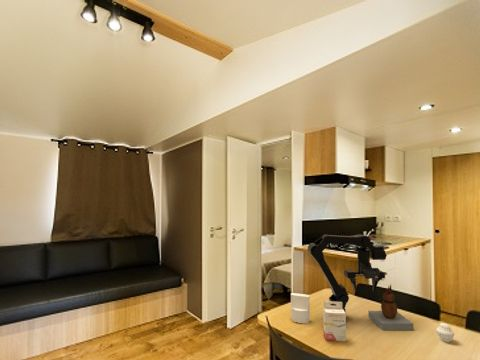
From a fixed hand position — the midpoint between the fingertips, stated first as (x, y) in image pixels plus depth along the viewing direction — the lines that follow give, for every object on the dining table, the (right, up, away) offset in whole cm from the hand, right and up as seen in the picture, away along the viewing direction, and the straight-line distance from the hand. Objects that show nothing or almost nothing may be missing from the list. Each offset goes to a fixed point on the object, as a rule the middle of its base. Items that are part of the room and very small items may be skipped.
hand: (364, 291), depth 139 cm
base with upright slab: (-33, -13, -2) cm, 36 cm away
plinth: (+9, -13, -7) cm, 17 cm away
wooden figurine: (+9, -10, -7) cm, 15 cm away
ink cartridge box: (-22, -12, -21) cm, 32 cm away
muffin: (+24, -12, -23) cm, 35 cm away
